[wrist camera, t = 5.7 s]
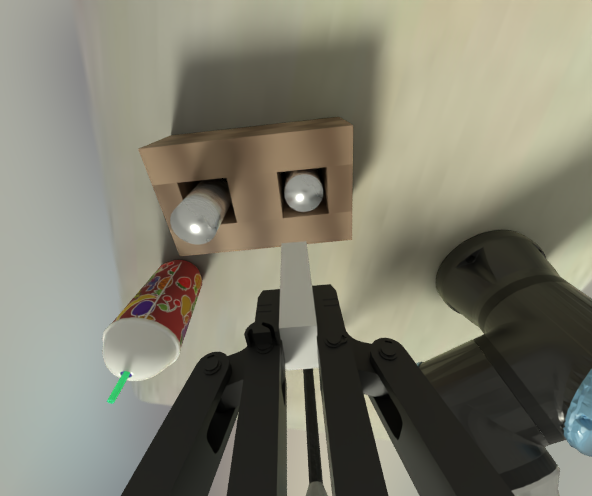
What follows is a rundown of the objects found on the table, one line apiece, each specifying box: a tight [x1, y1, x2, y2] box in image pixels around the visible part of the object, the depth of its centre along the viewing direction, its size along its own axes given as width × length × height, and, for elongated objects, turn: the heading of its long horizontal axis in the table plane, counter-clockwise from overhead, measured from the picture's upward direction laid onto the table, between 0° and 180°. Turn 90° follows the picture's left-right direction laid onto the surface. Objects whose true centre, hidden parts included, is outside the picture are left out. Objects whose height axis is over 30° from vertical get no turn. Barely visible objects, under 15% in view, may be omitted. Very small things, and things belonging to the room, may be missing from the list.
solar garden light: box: [303, 368, 328, 496], centre depth 41 cm, size 12×12×30 cm
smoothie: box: [102, 260, 202, 404], centre depth 34 cm, size 8×8×20 cm
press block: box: [139, 117, 353, 256], centre depth 31 cm, size 20×12×8 cm, turn 96°
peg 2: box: [284, 168, 323, 212], centre depth 31 cm, size 4×4×8 cm
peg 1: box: [170, 178, 232, 245], centre depth 27 cm, size 4×4×8 cm
